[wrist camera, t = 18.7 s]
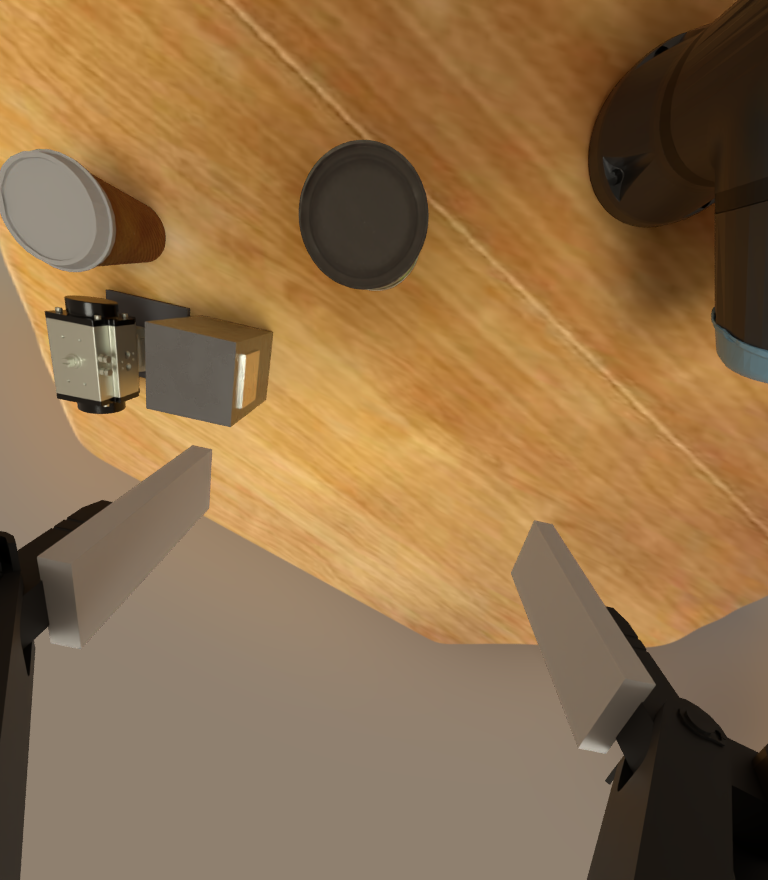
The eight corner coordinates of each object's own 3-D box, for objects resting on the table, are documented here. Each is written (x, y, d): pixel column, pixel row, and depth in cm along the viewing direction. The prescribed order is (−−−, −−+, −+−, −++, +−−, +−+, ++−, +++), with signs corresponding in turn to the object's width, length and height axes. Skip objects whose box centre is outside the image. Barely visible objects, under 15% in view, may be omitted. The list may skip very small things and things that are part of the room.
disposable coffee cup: (117, 163, 41) (9, 114, 30) (193, 224, 43) (119, 199, 31) (85, 240, 44) (-24, 221, 33) (158, 294, 46) (78, 294, 34)
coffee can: (437, 217, 41) (453, 182, 28) (395, 306, 45) (392, 311, 32) (353, 170, 40) (328, 109, 27) (317, 265, 44) (279, 253, 30)
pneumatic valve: (129, 387, 50) (49, 414, 38) (122, 294, 45) (30, 295, 34) (170, 395, 50) (102, 424, 39) (168, 303, 45) (91, 307, 34)
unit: (197, 314, 46) (138, 320, 36) (275, 332, 47) (239, 343, 36) (195, 383, 50) (140, 407, 39) (268, 400, 50) (233, 427, 40)
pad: (109, 289, 46) (105, 289, 45) (190, 308, 46) (187, 308, 45) (113, 369, 49) (110, 369, 49) (188, 385, 50) (185, 386, 49)
